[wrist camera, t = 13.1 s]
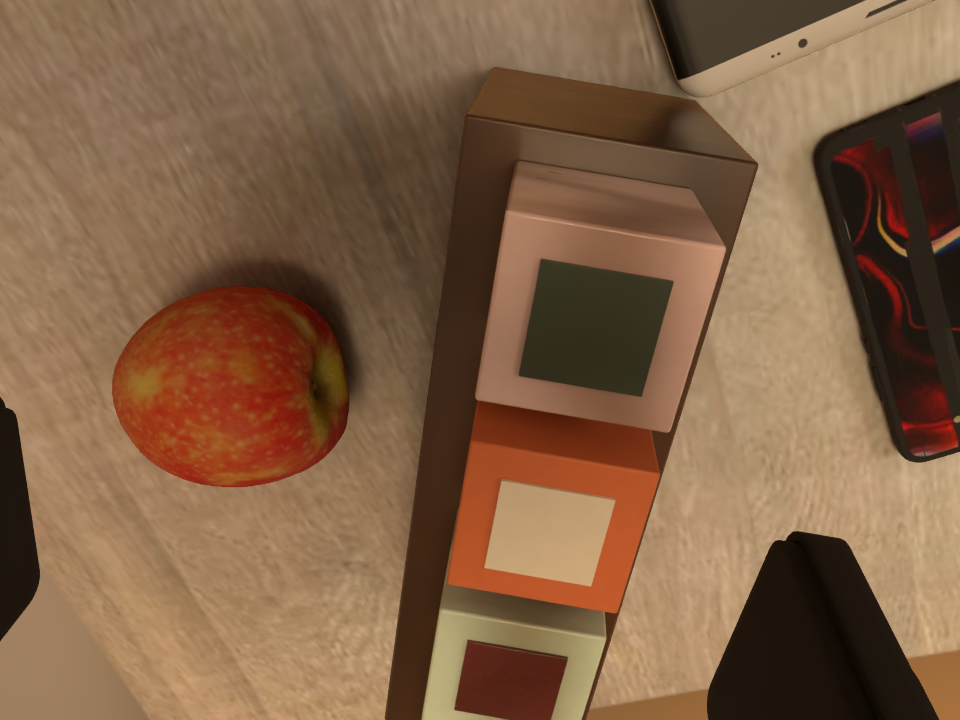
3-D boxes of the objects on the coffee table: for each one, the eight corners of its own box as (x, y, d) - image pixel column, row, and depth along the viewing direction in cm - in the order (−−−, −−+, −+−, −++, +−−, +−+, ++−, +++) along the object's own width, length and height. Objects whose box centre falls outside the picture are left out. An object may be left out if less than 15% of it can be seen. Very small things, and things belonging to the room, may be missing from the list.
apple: (374, 415, 36) (330, 527, 29) (202, 426, 37) (118, 537, 30) (339, 249, 32) (278, 330, 25) (149, 267, 33) (40, 349, 26)
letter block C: (488, 320, 22) (473, 403, 18) (515, 159, 20) (505, 211, 16) (649, 347, 22) (671, 437, 18) (693, 189, 20) (729, 248, 16)
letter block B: (441, 608, 27) (420, 725, 23) (458, 504, 25) (438, 612, 21) (570, 631, 27) (573, 752, 23) (599, 528, 25) (607, 641, 21)
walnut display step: (422, 549, 39) (383, 721, 30) (493, 66, 29) (464, 114, 20) (571, 574, 39) (575, 754, 30) (696, 100, 28) (760, 163, 20)
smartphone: (1028, 57, 26) (1088, 416, 32) (1017, 55, 27) (1078, 407, 32) (809, 146, 28) (902, 470, 34) (804, 142, 29) (896, 461, 34)
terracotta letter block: (463, 482, 25) (445, 588, 21) (485, 355, 23) (469, 443, 19) (607, 507, 25) (617, 618, 21) (642, 381, 23) (661, 476, 18)
